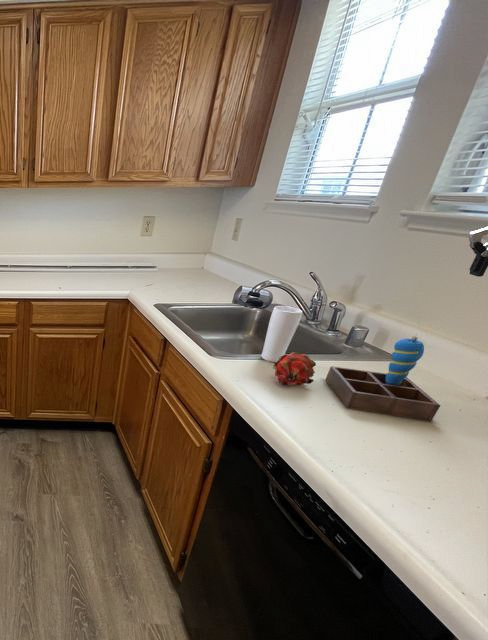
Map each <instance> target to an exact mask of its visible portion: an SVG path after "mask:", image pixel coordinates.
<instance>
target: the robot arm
mask: <svg viewBox="0 0 488 640" xmlns="http://www.w3.org/2000/svg"><path fill="white" fill-rule="evenodd" d="M485 236H488V226H486V227H484V228H480V229H478V230H474V231H470V232H469V233H468V241H469V247H470V249H471V250H472V251H473V254H474V255H475V257H474V259H473V260H472V263H471V264H470V267H469V275H471V276H474V277H478V278H479V277H483V276H484V275H485V273H486V271H487V269H488V238H487V239H486V243H485V244H484V243H483V242H482V238H483V237H485Z"/></svg>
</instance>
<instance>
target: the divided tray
mask: <svg viewBox="0 0 488 640" xmlns="http://www.w3.org/2000/svg"><path fill="white" fill-rule="evenodd" d="M386 375H387V373H385V372H379V371H370V370H364V369H363V370H362V369H355V368H348V367H341V366H335V365H331V366H330V368H329V370H328V372H327V374H326V377H325V379H324V381H325V382H326V383H327V385H328V386H329V387H330V389H331V390H332V391H333V392H334V394H335V395H336V396H337V398H338V399H339V400H340V402H342V404H343V405H344V407H345V408H347V409H351V410H357V411H364V412H369V413H370V412H371V413H376V414H382V415H389V416H395V417H402V418H406V419H407V418H408V419H414V420H420V421H425V422H432V421H433V419H434V418H435V416H436V414H437V413H438V411H439V409H440V407H441V404H440V403H438V402H437V401H436V400H435V399H434V398H432V397H431V396H430V395H429V394H427V393H426V392H425V391H424V390H423V389H422V388H420V386H418V385H417V384H416V383H414V382H413V381H412V380H411V379H410V378H408V376H407V377H406V378H405V379H404V380H403V381H402V383H401V384H400V385H399V386H396V385H389V384H386Z"/></svg>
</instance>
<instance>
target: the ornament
mask: <svg viewBox="0 0 488 640" xmlns="http://www.w3.org/2000/svg"><path fill="white" fill-rule="evenodd" d="M418 338H419V337H418V336H417V333H416V335H415V336H412V337H411V338H402V339H399V340H397V341H396V342H394V347H393V349H394V350H393V351H392V352H391V355H390V356H391V358H390V359H391V361H390V362H389V364H388V372H387V373H386V374H387V375H386V384H389V385H396V386H399V385H400V384H401V383H402V381H403V380H404V379H405V378H406V377H407V378H408V376H409V374H410V371H412V370H413V369H414V368H415V367H416V366H417V362H419V361H420V359H422V357H423V355H424V352H425V345H424V343H423V342H422V341H421V340H418Z"/></svg>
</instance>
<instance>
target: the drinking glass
mask: <svg viewBox="0 0 488 640" xmlns="http://www.w3.org/2000/svg"><path fill="white" fill-rule="evenodd" d="M302 315H303V310H302V309H300V308H297V307H293V306H287V305H276V306H274V307H273V310H272V312H271V315H270V317H269V321H268V325H267V330H266V335H265V340H264V343H263V348H262V352H261V353H260V354H261V355H260V356H261V358H262V359H263V360H265V361H267V362H270V363H276V362H277V361H278V360H279V357H281V356H283V355H286V352H287V350H288V349H289V346H290V344H291V342H292V340H293V338H294V335H295V334H296V331H297V329H298V327H299V325H300V322H301V319H302Z"/></svg>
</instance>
